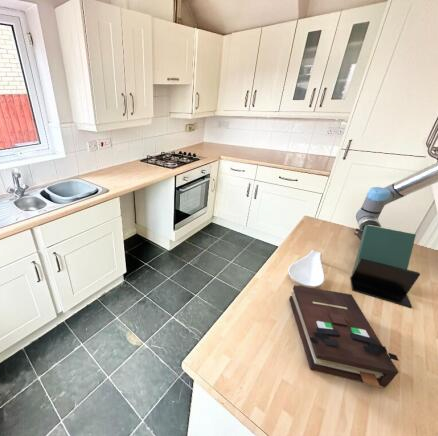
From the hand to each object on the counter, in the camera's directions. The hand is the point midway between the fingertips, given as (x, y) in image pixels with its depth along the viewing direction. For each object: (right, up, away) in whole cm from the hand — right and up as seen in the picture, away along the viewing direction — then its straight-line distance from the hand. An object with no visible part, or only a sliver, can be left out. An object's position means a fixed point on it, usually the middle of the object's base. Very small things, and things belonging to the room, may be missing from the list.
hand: (379, 253), depth 95 cm
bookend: (-7, -13, -7) cm, 16 cm away
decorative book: (-36, -22, -22) cm, 47 cm away
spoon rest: (-27, -8, +3) cm, 28 cm away
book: (0, 0, -1) cm, 1 cm away
